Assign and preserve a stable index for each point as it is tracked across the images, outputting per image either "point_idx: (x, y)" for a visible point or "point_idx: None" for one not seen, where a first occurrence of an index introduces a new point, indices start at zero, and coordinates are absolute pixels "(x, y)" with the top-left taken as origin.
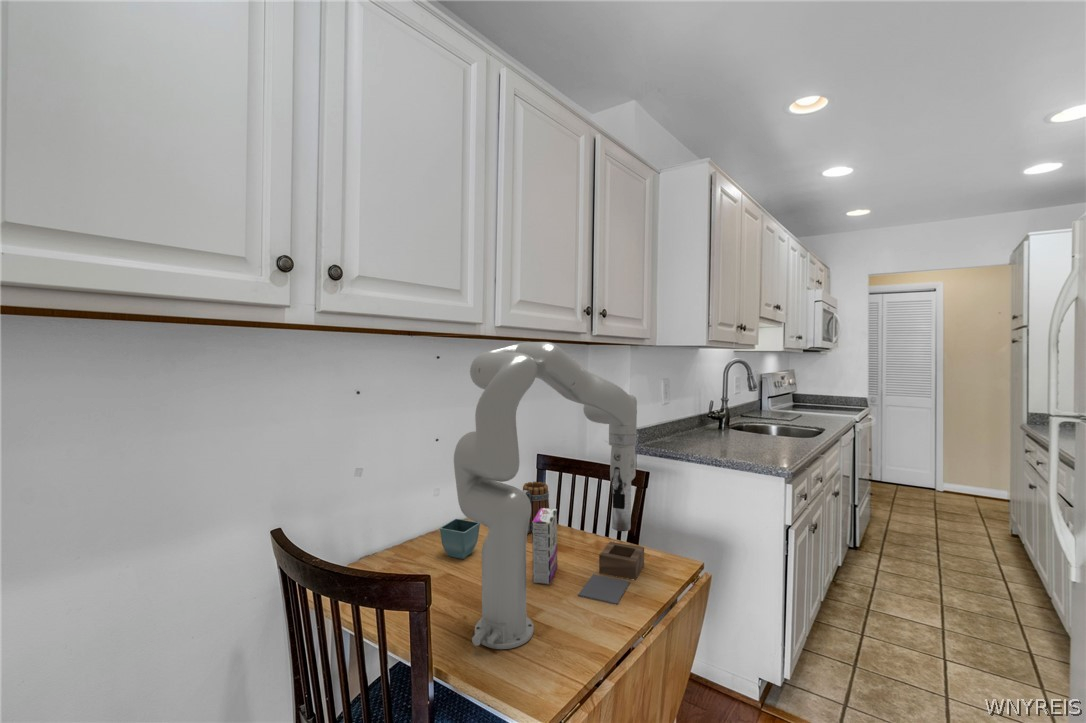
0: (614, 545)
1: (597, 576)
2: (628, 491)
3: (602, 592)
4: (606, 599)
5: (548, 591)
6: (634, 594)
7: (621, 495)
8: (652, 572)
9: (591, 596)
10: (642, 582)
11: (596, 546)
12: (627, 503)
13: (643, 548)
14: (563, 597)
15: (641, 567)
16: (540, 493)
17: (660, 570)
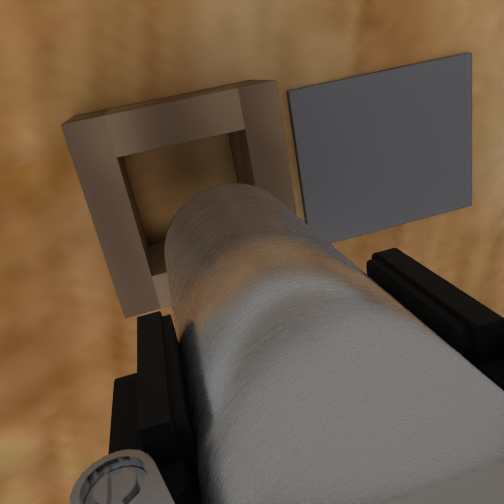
0: (151, 275)
1: (321, 224)
2: (413, 333)
3: (423, 141)
4: (463, 102)
5: (477, 293)
6: (366, 28)
7: (492, 347)
8: (122, 42)
9: (465, 159)
10: (250, 42)
11: (47, 393)
12: (347, 261)
13: (78, 121)
14: (491, 235)
15: (133, 104)
16: None
17: (70, 12)
